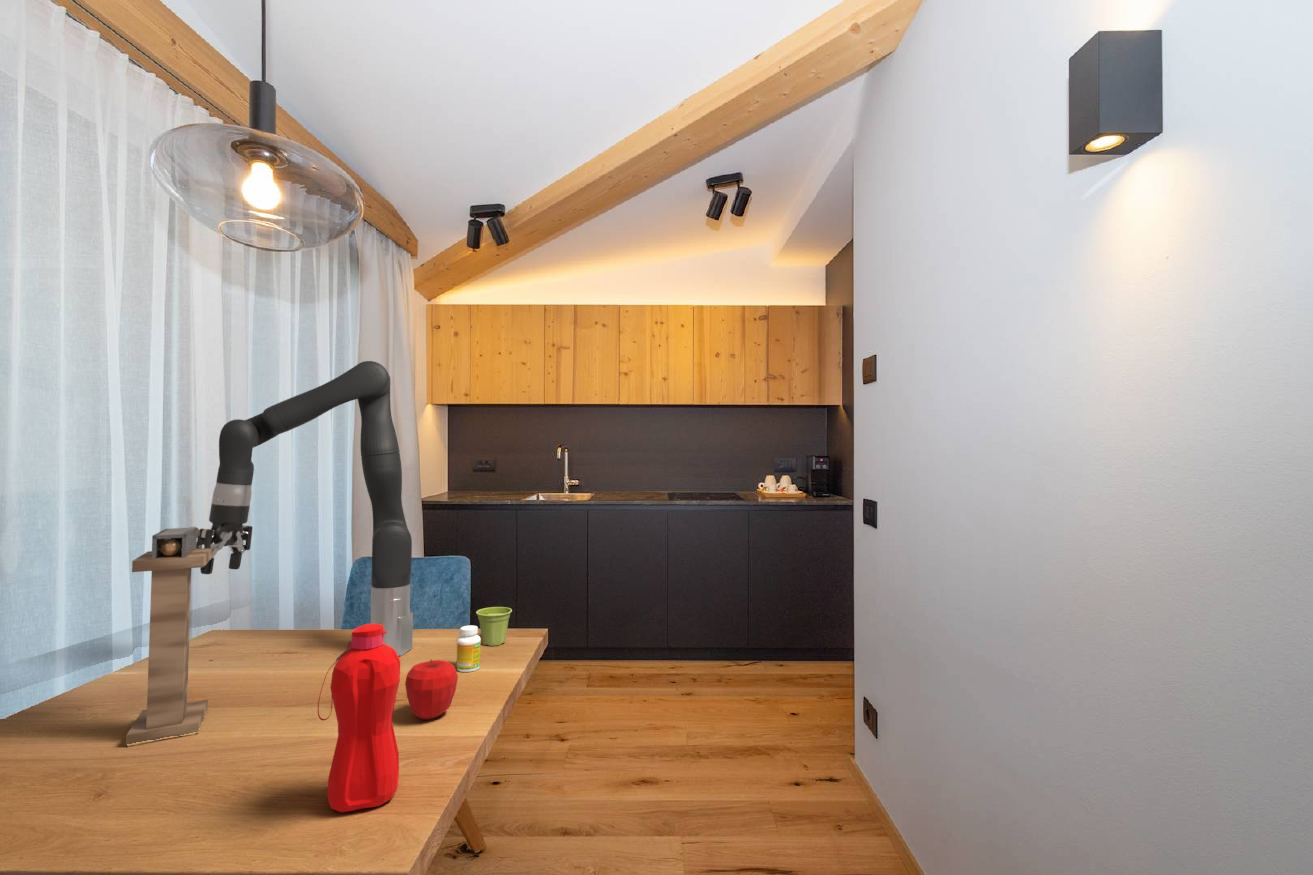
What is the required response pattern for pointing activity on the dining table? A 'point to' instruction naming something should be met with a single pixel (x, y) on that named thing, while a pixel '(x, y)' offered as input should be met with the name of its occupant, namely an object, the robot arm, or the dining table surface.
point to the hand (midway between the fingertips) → (220, 571)
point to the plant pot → (493, 624)
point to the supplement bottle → (468, 649)
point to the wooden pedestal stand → (169, 648)
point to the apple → (431, 688)
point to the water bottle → (364, 722)
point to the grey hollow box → (185, 533)
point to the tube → (174, 545)
